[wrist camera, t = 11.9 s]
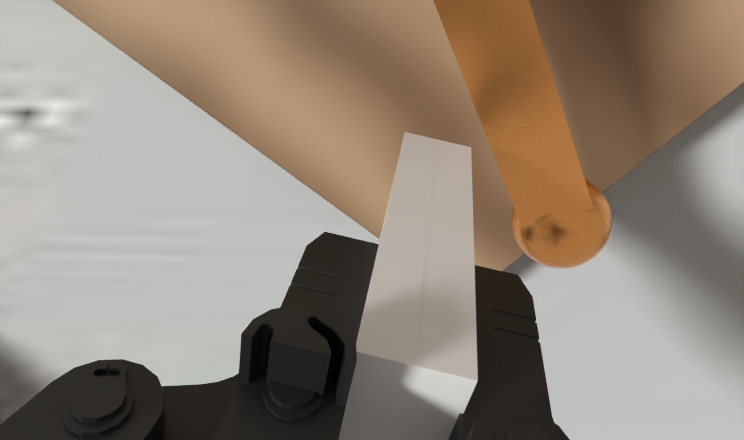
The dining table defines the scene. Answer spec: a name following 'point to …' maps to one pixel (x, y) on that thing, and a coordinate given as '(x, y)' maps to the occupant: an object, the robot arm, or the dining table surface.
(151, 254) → the dining table surface
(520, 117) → the capstan
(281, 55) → the wooden cutting board
